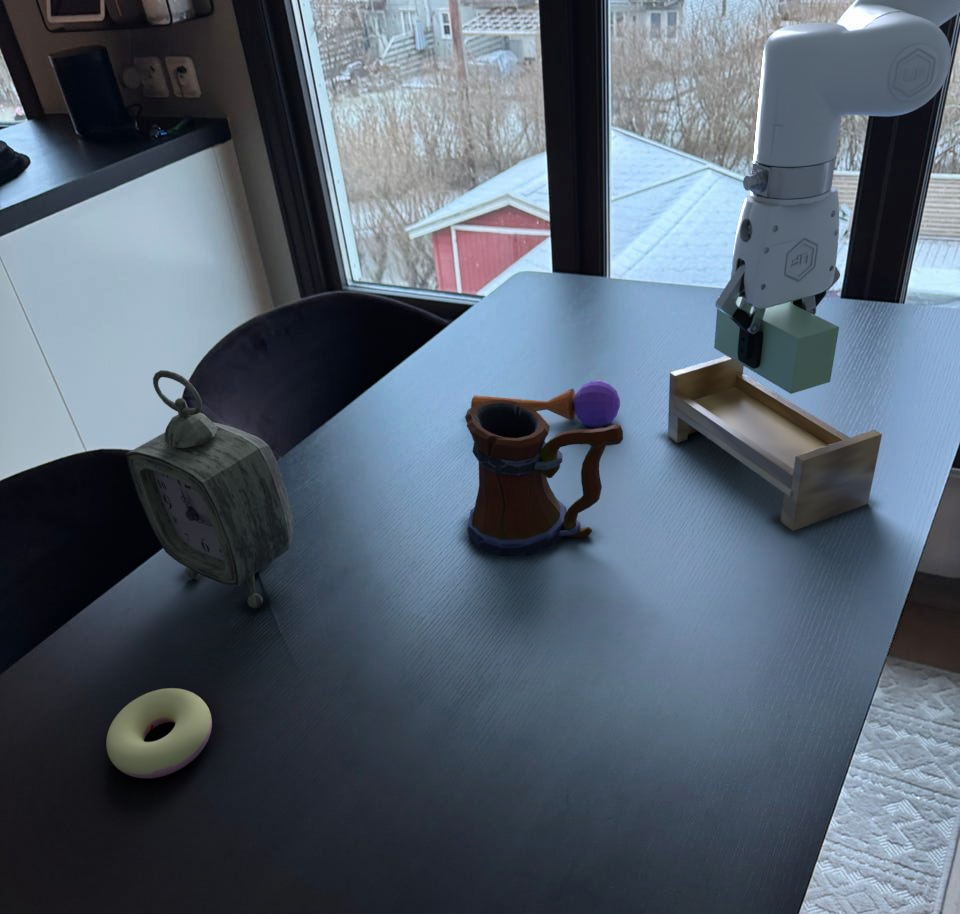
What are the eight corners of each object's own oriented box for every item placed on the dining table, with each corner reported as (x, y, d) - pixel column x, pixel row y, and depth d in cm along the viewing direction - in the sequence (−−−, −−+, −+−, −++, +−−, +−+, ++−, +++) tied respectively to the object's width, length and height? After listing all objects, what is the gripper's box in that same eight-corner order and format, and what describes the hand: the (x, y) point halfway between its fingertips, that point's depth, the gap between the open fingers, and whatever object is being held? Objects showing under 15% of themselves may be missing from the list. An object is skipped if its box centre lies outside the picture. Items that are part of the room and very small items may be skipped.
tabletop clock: (172, 581, 104) (89, 375, 88) (232, 541, 110) (163, 339, 93) (256, 622, 97) (183, 406, 81) (316, 577, 102) (258, 365, 86)
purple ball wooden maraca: (479, 380, 127) (622, 374, 120) (484, 422, 130) (624, 419, 123) (465, 392, 122) (613, 386, 115) (470, 435, 125) (615, 432, 118)
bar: (750, 337, 106) (755, 286, 102) (830, 382, 96) (839, 326, 92) (713, 348, 105) (717, 296, 101) (790, 394, 95) (798, 338, 91)
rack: (733, 417, 120) (739, 351, 114) (867, 506, 101) (882, 433, 96) (667, 438, 117) (669, 372, 111) (792, 533, 99) (802, 460, 93)
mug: (634, 516, 105) (635, 394, 95) (608, 575, 97) (607, 449, 87) (488, 498, 111) (475, 383, 101) (452, 553, 103) (435, 433, 93)
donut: (223, 719, 89) (125, 721, 89) (217, 679, 87) (117, 681, 86) (205, 785, 81) (96, 788, 80) (198, 744, 78) (86, 746, 78)
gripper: (740, 205, 84) (724, 390, 95) (890, 168, 88) (857, 350, 99) (694, 187, 89) (684, 364, 101) (838, 153, 93) (812, 327, 105)
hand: (770, 355), depth 100 cm, fingers closed on bar, 5 cm apart
